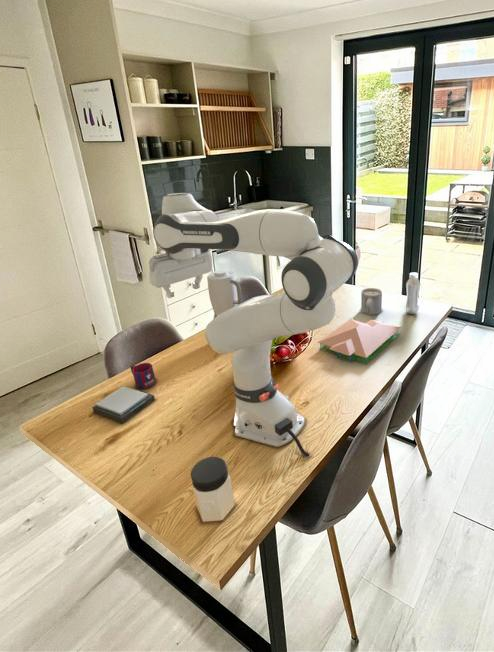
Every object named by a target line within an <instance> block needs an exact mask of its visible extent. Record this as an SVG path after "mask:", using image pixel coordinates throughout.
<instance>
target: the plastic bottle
mask: <svg viewBox="0 0 494 652" xmlns="http://www.w3.org/2000/svg"><path fill="white" fill-rule="evenodd" d="M418 278H419V273H418V272H410V273H409V279H408V280H407V281H406V283H405V287H406V300H405V304H404V311H405V312H406V314H410V315H411V314H412V315H413V314H417V313H418V312H419V309H420V306H419V294H420V290H421V289H420V288H421V282H420V280H419V279H418Z"/></svg>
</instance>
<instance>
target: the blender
mask: <svg viewBox="0 0 494 652" xmlns="http://www.w3.org/2000/svg"><path fill="white" fill-rule="evenodd" d="M206 279H207V290H208V296H209V297H208V298H209V301H210V305H211V307H212V310H213V318H212V320H213V319H214V318H216V317H217V316H218V315H220V314H221V313H223V312H225V311H227V310H229V309H231V308H233V307H235V306H237V305H239V304H241V303H243V302H242V301H243V298H242V288H241V284H240V283H239V282H238V280H236V276H235V273H234V272H233V271H231V270H226V269H217V270H214V271H213V272H209V273H208V275H207V276H206Z"/></svg>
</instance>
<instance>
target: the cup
mask: <svg viewBox="0 0 494 652" xmlns="http://www.w3.org/2000/svg"><path fill="white" fill-rule="evenodd" d="M130 371H131V374H132V376H133V379H134V384H135V387H136V388H137V389H138V390H145V389H149V388H151V387H153V386H154V385H155V384H156V381H157V380H156V376H155V371H154V367H153V364H152V363H149V362H142V363H139V364H137V365H136V364H132V365H131V366H130Z"/></svg>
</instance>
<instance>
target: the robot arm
mask: <svg viewBox="0 0 494 652" xmlns="http://www.w3.org/2000/svg"><path fill="white" fill-rule="evenodd" d="M161 202H162V203H161V214H160V215H159V216H158V218H157V219H156V221H155V223H154V226H153V231H152V234H153V238H154V241H155V243H156V244H157V245H158V246H159V248H161V249H162V250H163V251H164V252H162V253H159V254H154V255H153V256H152V257H151V258H150V259H149V261H148V265H149V272H148V280H149V284H150V285H151V286H153V287H155V288H158V289H161V288H162V289H163V290H164V292H165V296H166V297H167V298H168V299H172V298H173V297H175V291H173V290H172V289H170V288H171V285H174V284H176V283H179V282H182V281H186V280H189V279H193V278H195V279H194V281H193V282H192V283H191V285H192V287H191V288H192V289H194V290H197V289H200V287H201V286H200V285H201V282H202V279H203V275H205V274H210V273H212V270H213V256H212V253H211V250H225V251H231V252H241V253H248V254H254V255H262V256H269V257H280V258H281V257H283V258H285V259H287V260H290V261H289V262H287V264H286V265H284V267H283V269H282V271H281V274H280V275H281V276H280V278H281V279H280V280H281V285H282V288H283V291H284V292H282V293H277V294H273V295H270V294H262V295H257V296H254V297H251V298H249V299H247V300H245V301H243V302H241V304H237V306H235V307H233V308H231V309H229V310H227V311H225V312H223V313H221V314H220V315H218V316H217V317H216V318H214V317H213V318H214V319H213V318H212V320H211V321H210V322H208V323H207V324H206V327H205V331H204V332H205V340H206V343H207V344H208V345H209V347H210V348H211V349H212V350H213V351H214V352H216V353H218V354H220V355H228V354H232V353H233V355H232V357H231V369H232V375H233V382H232V389H233V394H234V397H235V413H234V420H233V426H235V428H234V435H235V436H236V437H239V438H243V439H245V440H250V441H253V442H258V443H261V444H264V445H268V446H271V447H276V448H279V447H282V446H284V445H287V444H288V443H290V442H291V441H292V440H294V441H295V444H296V445H297V448H298V449H299V451H300V453H301V454H302V455H303V456H305V457H306V458H308V457H309V456H310V453H309V452H307V451H306V450H305V449H304V448H303V445H302V444H301V442H300V440H299V438H298V437H297V436H298V435H299V434H300V433H301V431H302V430H303V428H304V426H305V423H306V420H305V416H302V415H301V414H299V412H297V410H296V407H295V405H294V404H293V403H292V402H291V399H290V397H289V396H288V395H284V394H283V393H282V392H281V391H280V390H279V389H278V388H279V387H280V385H279V384H280V383H279V382H278V383H277V384H276V382H275V380H274V378H273V376H272V372H271V371H272V370H271V351H272V346H273V340H275V339H277V338H283V337H288V336H295V335H300V334H305V333H310V332H312V331H316V330H318V329H321V328H323V327H325V326H327V325H329V324H331V322H332V321H333V320H334V318H335V315H336V301H335V299H334V297H333V293H335V292H337V291H338V289H340V288H341V287H342V286H344V285H345V284H346V283H348V282H350V280H351V279H352V278H353V277H354V276H355V274H356V272H357V270H358V267H359V257H358V254H357V252H356V250H355V249H354V248H353V247H352V246H351V245H349V244H348V243H346V242H345V241H343V240H340V239H337V238H335V237H334V236H332V235H331V234H323V235H322V236H321V235H320V234H319V230H318V226H317V222H315V220H314V218H312V217H311V216H310V215H308V214H305V213H302V212H298V211H295V210H289V209H279V208H265V209H264V208H263V209H258V210H253V211H249V212H245V213H243V214H240V215H239V214H238V215H236V216H232V217H230V218H226V219H222V220H221V219H220V217H219V215H218V214H217V213H216V212H215V211H213V210H212V209H208V208H206V207H204V206H202V205H201V204H199V202H197V201H196V200H195V197H194V196H193V195H192V193H189V192H175V193H167V194H165V195H164V196H163V197H162V201H161Z"/></svg>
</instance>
